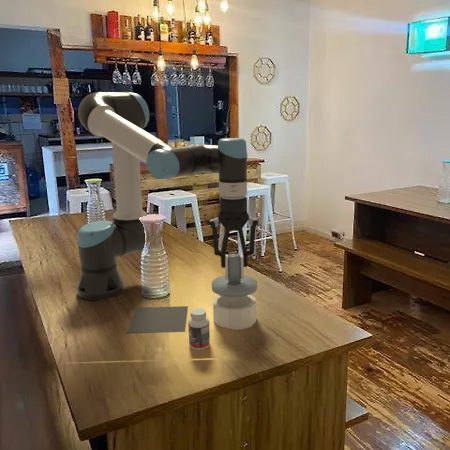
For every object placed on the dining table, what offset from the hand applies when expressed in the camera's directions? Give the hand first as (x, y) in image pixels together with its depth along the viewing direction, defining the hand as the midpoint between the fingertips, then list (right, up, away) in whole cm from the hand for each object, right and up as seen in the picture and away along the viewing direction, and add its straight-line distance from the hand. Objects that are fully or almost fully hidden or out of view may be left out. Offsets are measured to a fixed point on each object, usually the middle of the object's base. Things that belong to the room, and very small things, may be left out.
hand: (234, 277), depth 128 cm
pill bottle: (-9, -17, -10) cm, 22 cm away
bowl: (0, -13, +3) cm, 13 cm away
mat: (-22, -13, +4) cm, 26 cm away
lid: (0, -3, +1) cm, 3 cm away
